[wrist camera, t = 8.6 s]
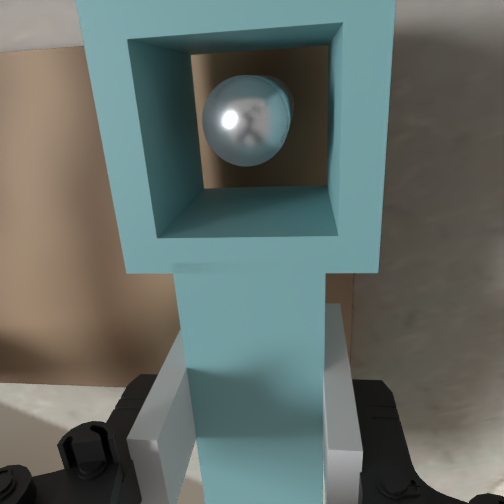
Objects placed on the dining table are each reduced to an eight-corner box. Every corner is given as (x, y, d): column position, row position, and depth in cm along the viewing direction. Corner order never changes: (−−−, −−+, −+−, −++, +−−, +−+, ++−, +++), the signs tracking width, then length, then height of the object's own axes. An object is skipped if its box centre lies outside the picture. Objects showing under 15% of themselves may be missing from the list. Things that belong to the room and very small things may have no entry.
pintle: (294, 73, 16) (287, 72, 10) (295, 131, 17) (289, 164, 11) (239, 77, 16) (197, 78, 10) (243, 134, 17) (206, 167, 11)
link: (158, 23, 14) (73, -11, 9) (361, 7, 13) (398, -42, 8) (213, 468, 21) (185, 588, 16) (343, 476, 20) (356, 605, 15)
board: (358, 28, 15) (364, 23, 14) (346, 375, 21) (348, 395, 20) (-132, 66, 18) (-168, 65, 17) (-19, 363, 24) (-38, 381, 23)
